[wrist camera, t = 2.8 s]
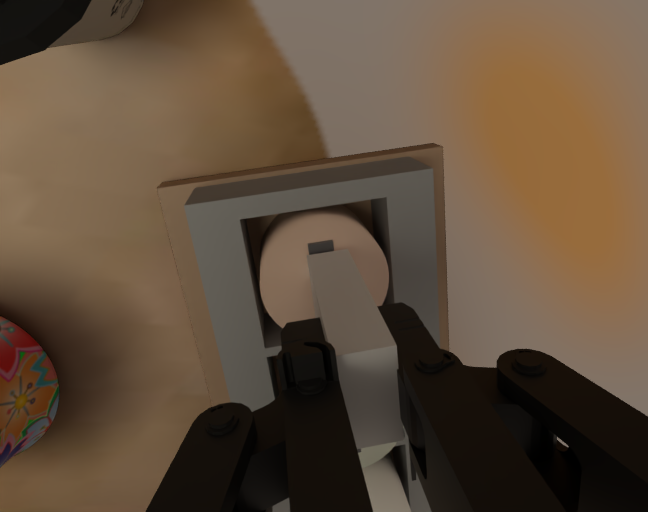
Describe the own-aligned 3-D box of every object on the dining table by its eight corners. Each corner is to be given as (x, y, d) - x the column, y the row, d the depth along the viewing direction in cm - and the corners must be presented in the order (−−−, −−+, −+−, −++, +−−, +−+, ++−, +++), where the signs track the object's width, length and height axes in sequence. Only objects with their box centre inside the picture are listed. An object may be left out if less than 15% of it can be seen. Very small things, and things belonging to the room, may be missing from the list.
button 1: (306, 517, 24) (313, 581, 21) (293, 445, 23) (298, 503, 19) (396, 499, 25) (416, 559, 22) (390, 426, 23) (411, 481, 20)
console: (243, 507, 27) (240, 580, 23) (162, 182, 20) (138, 206, 16) (445, 467, 28) (475, 530, 24) (433, 143, 21) (472, 156, 17)
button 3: (269, 312, 21) (271, 352, 18) (250, 209, 19) (248, 233, 16) (374, 294, 21) (394, 330, 18) (365, 191, 20) (384, 212, 16)
